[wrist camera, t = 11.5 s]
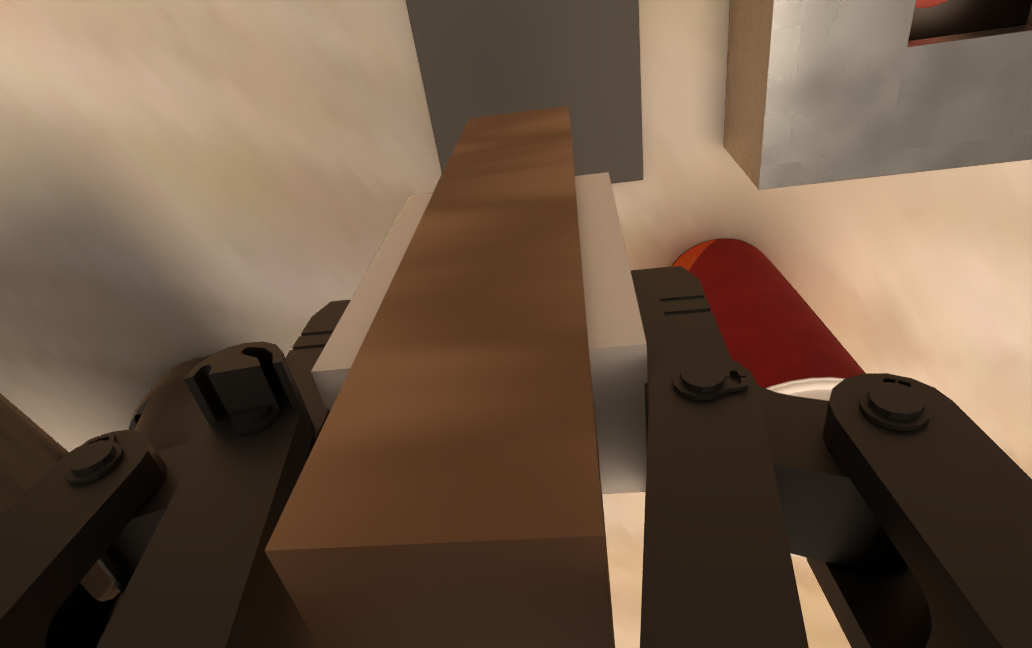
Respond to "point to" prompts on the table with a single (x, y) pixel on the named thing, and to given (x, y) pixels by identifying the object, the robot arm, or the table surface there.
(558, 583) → the rod
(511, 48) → the pad
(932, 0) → the red button
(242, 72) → the table surface
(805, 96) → the grey block with hole
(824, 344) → the coffee cup
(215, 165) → the table surface
